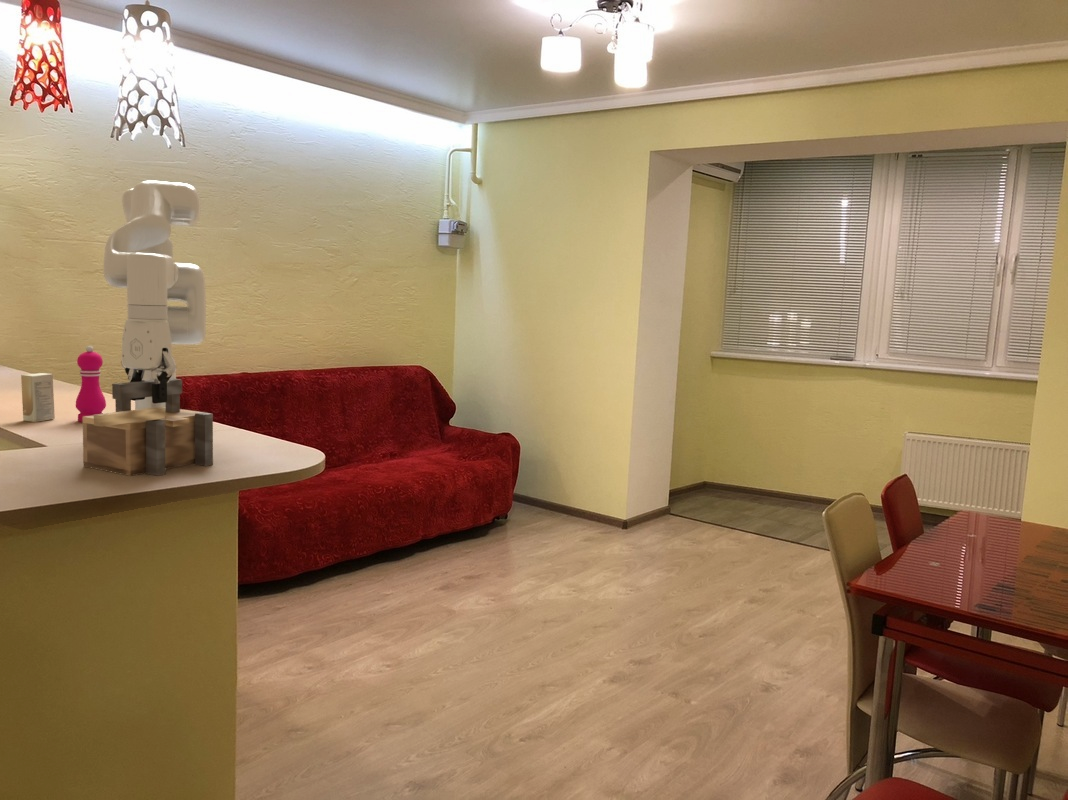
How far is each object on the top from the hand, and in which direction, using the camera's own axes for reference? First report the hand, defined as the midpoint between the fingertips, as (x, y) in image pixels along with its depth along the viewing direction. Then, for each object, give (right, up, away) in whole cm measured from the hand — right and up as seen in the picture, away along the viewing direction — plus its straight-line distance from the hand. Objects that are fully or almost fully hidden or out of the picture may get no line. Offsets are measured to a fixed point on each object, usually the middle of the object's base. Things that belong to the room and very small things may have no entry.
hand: (148, 400), depth 177 cm
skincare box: (-51, -5, +48) cm, 70 cm away
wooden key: (+3, -4, -14) cm, 15 cm away
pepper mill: (-38, -6, +51) cm, 64 cm away
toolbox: (+1, -13, +1) cm, 13 cm away
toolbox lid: (+1, -4, 0) cm, 4 cm away
